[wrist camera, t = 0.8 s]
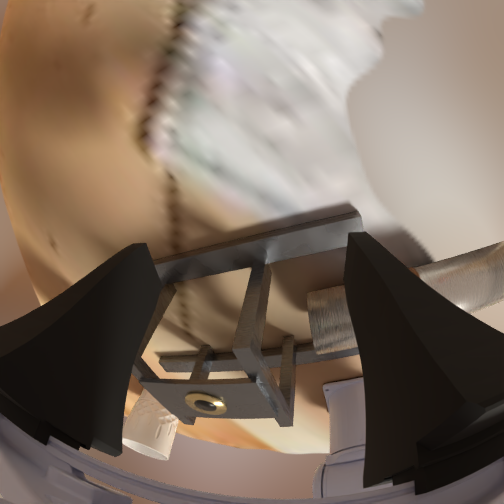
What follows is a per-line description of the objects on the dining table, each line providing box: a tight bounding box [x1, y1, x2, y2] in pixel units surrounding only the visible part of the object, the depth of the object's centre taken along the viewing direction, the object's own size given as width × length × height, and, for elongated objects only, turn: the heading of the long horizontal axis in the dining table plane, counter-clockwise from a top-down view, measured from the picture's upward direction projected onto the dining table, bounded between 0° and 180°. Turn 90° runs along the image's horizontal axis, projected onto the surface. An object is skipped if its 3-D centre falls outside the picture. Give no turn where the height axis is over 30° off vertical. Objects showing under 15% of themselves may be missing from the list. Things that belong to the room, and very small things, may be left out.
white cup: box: [122, 388, 178, 460], centre depth 32 cm, size 8×8×10 cm
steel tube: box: [307, 241, 504, 355], centre depth 18 cm, size 20×5×5 cm, turn 109°
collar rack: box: [131, 211, 364, 427], centre depth 20 cm, size 14×24×10 cm, turn 109°
